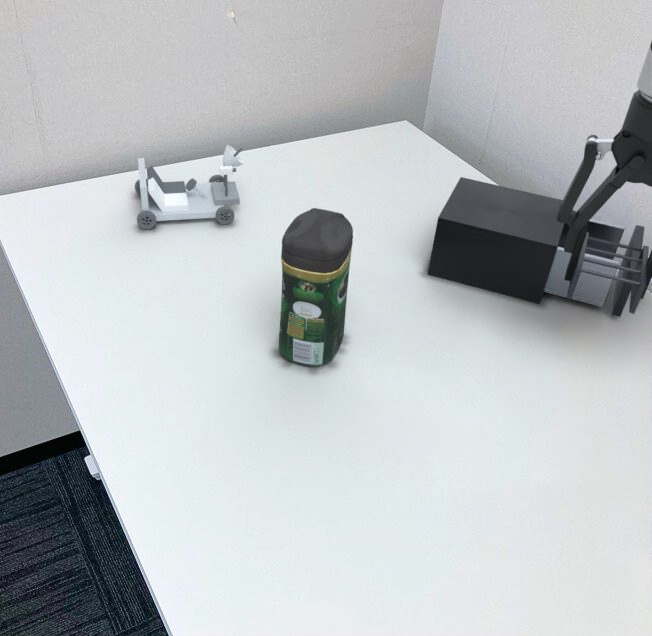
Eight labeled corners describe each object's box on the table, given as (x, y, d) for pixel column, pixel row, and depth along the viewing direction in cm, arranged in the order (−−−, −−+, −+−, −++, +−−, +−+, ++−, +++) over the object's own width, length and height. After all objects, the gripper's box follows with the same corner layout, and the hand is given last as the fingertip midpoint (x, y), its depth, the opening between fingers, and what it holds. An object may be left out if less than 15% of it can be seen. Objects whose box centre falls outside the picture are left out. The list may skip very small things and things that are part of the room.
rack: (637, 273, 92) (649, 246, 90) (634, 314, 86) (646, 285, 83) (574, 258, 94) (584, 231, 91) (566, 297, 88) (576, 269, 85)
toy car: (240, 135, 123) (251, 167, 115) (241, 188, 130) (250, 223, 121) (129, 139, 120) (131, 173, 112) (135, 194, 127) (137, 230, 118)
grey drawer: (660, 280, 113) (680, 234, 108) (656, 327, 104) (677, 280, 99) (524, 246, 118) (537, 202, 113) (509, 288, 109) (522, 242, 104)
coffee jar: (293, 317, 103) (299, 197, 91) (348, 330, 101) (362, 209, 89) (269, 361, 96) (272, 236, 84) (328, 375, 94) (340, 251, 82)
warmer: (553, 257, 118) (570, 201, 112) (539, 304, 108) (557, 246, 102) (449, 231, 122) (460, 176, 116) (427, 274, 112) (438, 217, 106)
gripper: (781, 102, 75) (694, 288, 90) (573, 67, 80) (523, 247, 95) (789, 130, 70) (694, 323, 84) (565, 90, 75) (513, 278, 90)
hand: (603, 283), depth 90 cm, fingers closed on rack, 8 cm apart
